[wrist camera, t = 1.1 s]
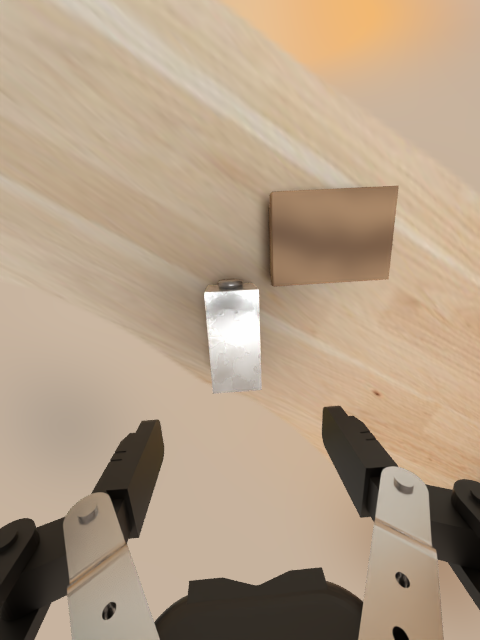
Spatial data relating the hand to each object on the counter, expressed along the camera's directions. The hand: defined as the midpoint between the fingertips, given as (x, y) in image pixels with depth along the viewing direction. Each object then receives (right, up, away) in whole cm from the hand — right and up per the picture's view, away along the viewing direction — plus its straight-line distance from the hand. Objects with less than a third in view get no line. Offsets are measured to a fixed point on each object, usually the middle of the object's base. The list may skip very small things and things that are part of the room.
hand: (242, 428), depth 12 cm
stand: (+8, +14, +14) cm, 21 cm away
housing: (-1, +5, +16) cm, 17 cm away
